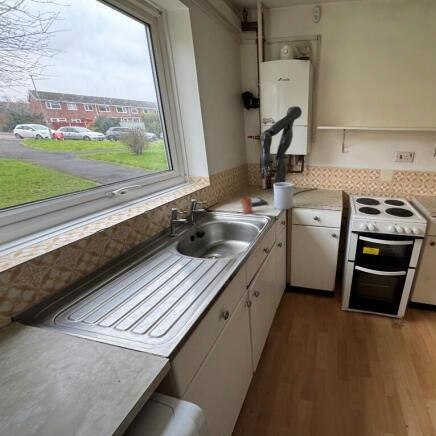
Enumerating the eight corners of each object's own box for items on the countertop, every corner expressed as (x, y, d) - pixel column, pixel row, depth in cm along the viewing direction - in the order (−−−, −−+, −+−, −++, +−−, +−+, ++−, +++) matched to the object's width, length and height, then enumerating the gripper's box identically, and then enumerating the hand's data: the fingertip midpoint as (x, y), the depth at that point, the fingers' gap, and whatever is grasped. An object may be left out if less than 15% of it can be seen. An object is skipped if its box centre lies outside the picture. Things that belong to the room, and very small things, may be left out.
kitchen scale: (260, 200, 194) (260, 197, 193) (267, 204, 182) (267, 201, 181) (241, 203, 186) (241, 199, 185) (247, 207, 175) (247, 203, 174)
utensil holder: (297, 207, 173) (297, 184, 167) (280, 211, 166) (279, 187, 160) (287, 203, 185) (287, 181, 179) (270, 206, 177) (269, 183, 172)
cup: (250, 210, 168) (249, 196, 164) (253, 212, 163) (252, 198, 159) (242, 211, 165) (240, 198, 162) (244, 214, 160) (243, 200, 156)
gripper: (273, 159, 179) (273, 180, 184) (266, 158, 191) (266, 178, 196) (264, 159, 175) (264, 181, 180) (257, 158, 187) (257, 178, 192)
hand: (265, 179), depth 188 cm, fingers open, 8 cm apart
